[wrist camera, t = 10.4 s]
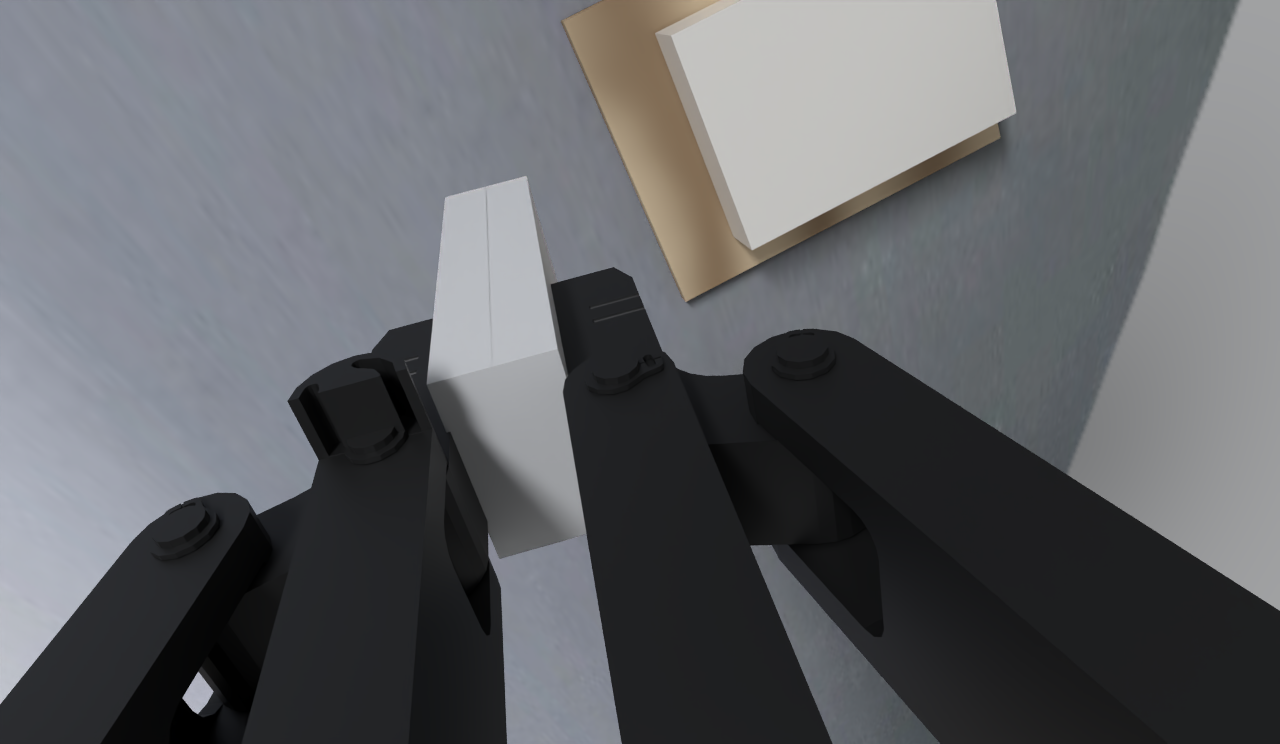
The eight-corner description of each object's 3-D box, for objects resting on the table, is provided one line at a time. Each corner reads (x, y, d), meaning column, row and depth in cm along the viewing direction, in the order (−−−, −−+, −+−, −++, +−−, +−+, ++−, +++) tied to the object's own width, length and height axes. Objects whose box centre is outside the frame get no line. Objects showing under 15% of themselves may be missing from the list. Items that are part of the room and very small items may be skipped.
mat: (682, 297, 41) (686, 301, 41) (560, 21, 34) (563, 21, 34) (993, 136, 42) (1000, 137, 41) (933, -166, 35) (941, -168, 35)
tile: (752, 250, 38) (1016, 113, 38) (671, 35, 33) (974, -118, 33) (732, 236, 40) (982, 106, 40) (654, 33, 35) (938, -111, 36)
